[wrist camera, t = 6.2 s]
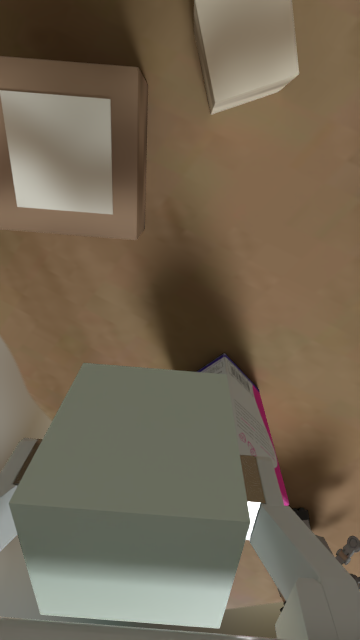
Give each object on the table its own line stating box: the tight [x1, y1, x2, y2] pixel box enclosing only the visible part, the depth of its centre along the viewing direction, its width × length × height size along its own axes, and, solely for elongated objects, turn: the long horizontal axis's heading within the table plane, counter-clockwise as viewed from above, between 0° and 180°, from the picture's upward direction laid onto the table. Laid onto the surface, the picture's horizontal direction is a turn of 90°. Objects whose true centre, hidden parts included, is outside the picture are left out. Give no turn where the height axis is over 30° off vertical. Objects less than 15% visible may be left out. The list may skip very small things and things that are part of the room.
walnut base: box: [0, 56, 148, 240], centre depth 20 cm, size 9×9×4 cm
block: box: [194, 0, 299, 114], centre depth 17 cm, size 4×4×4 cm
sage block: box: [9, 363, 251, 628], centre depth 10 cm, size 5×5×5 cm
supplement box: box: [197, 353, 289, 506], centre depth 25 cm, size 6×6×11 cm
